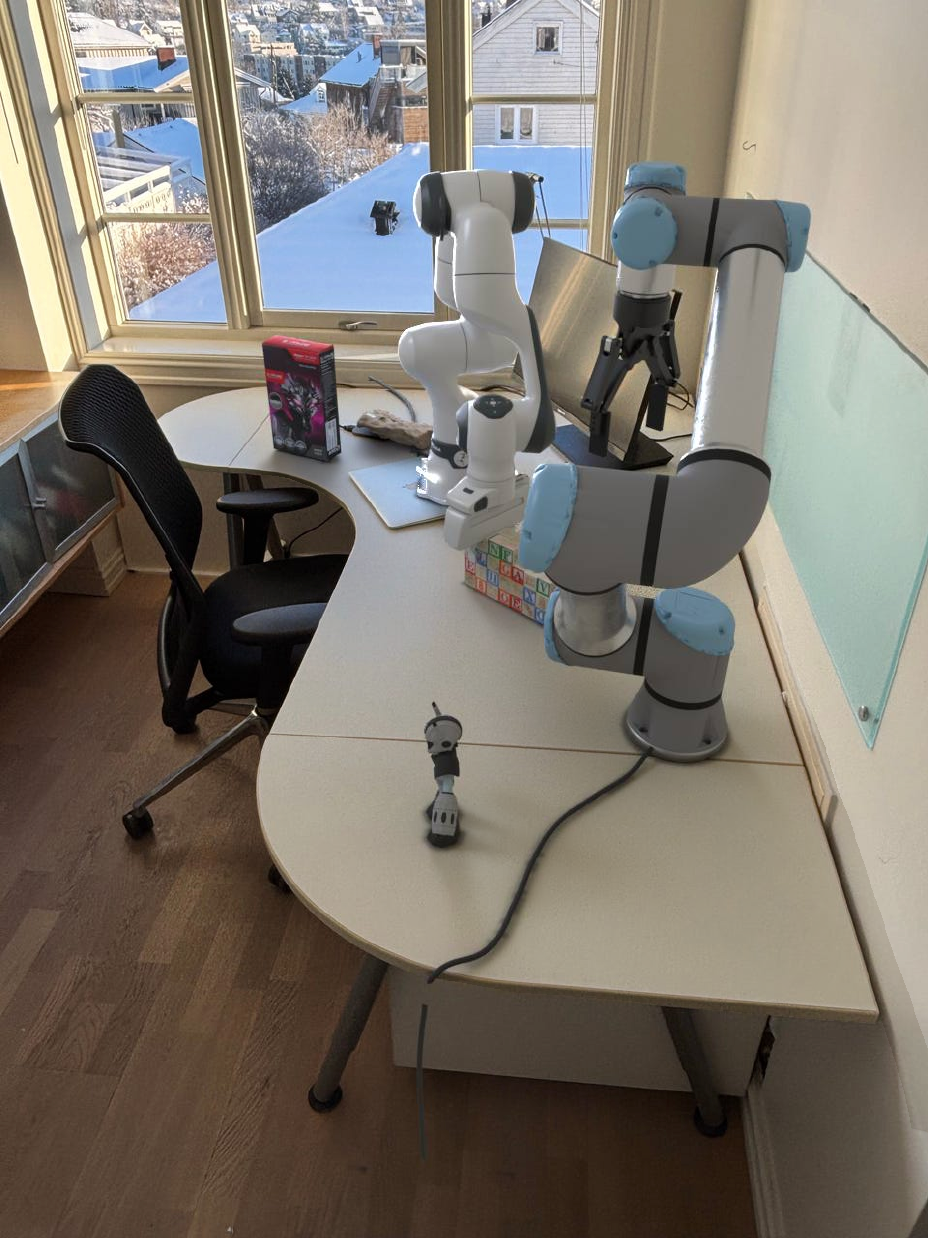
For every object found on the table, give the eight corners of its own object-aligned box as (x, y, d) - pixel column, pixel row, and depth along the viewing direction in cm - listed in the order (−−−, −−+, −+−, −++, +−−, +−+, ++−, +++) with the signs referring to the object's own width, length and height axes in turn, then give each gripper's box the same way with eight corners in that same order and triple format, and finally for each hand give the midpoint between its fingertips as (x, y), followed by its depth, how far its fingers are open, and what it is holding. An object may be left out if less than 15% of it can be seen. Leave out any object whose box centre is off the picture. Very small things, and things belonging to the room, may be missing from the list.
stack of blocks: (569, 614, 170) (573, 556, 163) (546, 628, 166) (550, 569, 159) (485, 571, 183) (487, 516, 176) (463, 583, 179) (463, 527, 172)
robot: (465, 880, 118) (466, 765, 107) (427, 882, 118) (424, 766, 107) (458, 774, 134) (458, 664, 123) (424, 775, 134) (422, 665, 123)
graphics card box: (271, 449, 231) (258, 341, 215) (288, 440, 236) (276, 333, 220) (327, 463, 224) (318, 352, 209) (343, 453, 229) (336, 344, 214)
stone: (340, 433, 232) (345, 409, 229) (362, 424, 245) (367, 402, 243) (418, 457, 228) (423, 433, 226) (436, 447, 241) (441, 425, 239)
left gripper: (516, 464, 175) (514, 529, 183) (438, 498, 163) (439, 565, 171) (541, 475, 171) (538, 540, 179) (463, 509, 159) (463, 578, 167)
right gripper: (674, 270, 132) (655, 412, 144) (561, 303, 118) (551, 457, 129) (719, 280, 128) (696, 425, 140) (608, 315, 113) (593, 473, 125)
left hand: (489, 553), depth 175 cm, fingers open, 7 cm apart
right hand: (626, 441), depth 135 cm, fingers open, 13 cm apart
